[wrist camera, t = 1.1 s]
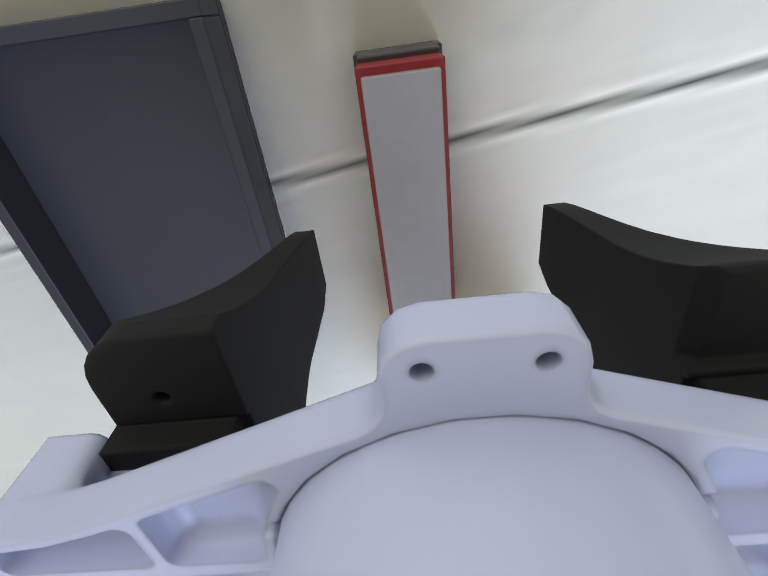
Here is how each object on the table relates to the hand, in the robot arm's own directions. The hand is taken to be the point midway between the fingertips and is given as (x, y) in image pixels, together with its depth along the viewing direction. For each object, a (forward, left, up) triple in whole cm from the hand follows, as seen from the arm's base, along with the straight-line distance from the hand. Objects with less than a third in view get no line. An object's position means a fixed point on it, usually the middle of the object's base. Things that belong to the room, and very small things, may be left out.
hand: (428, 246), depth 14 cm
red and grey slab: (-1, 0, -9) cm, 9 cm away
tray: (-1, +13, -9) cm, 16 cm away
